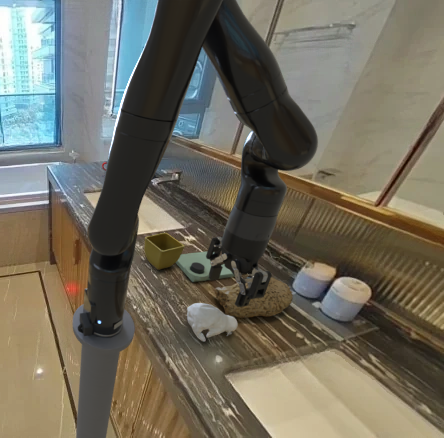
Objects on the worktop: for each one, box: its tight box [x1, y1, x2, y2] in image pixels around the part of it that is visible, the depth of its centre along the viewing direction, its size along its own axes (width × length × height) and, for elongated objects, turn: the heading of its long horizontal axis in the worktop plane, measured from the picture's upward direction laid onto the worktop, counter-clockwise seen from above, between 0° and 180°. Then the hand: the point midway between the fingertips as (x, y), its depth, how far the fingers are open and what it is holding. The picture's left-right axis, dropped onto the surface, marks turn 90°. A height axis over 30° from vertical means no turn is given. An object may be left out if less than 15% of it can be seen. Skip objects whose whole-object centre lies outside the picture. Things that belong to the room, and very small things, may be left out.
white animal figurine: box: [186, 302, 239, 342], centre depth 68 cm, size 6×8×12 cm
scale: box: [175, 250, 235, 283], centre depth 90 cm, size 16×13×3 cm
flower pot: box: [144, 232, 186, 271], centre depth 91 cm, size 9×9×9 cm
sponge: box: [214, 276, 294, 319], centre depth 76 cm, size 13×8×20 cm
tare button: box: [190, 262, 205, 274], centre depth 86 cm, size 4×4×2 cm
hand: (225, 291), depth 63 cm, fingers open, 8 cm apart
